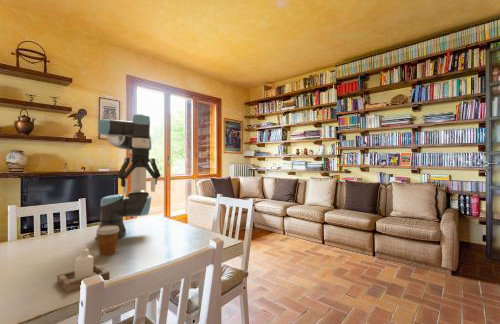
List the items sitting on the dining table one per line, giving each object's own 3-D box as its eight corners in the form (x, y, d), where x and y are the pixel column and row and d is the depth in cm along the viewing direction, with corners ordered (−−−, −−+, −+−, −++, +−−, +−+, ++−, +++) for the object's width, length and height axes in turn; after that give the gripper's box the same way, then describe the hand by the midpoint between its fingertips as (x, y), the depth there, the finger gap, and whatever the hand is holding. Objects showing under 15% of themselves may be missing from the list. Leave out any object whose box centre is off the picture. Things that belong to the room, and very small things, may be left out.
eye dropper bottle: (79, 276, 93) (80, 244, 93) (95, 276, 93) (96, 244, 93) (71, 281, 89) (72, 248, 89) (88, 281, 89) (89, 248, 89)
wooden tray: (57, 282, 89) (57, 275, 89) (97, 270, 99) (97, 264, 99) (67, 292, 82) (67, 285, 82) (109, 278, 92) (109, 272, 92)
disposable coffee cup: (94, 258, 111) (95, 231, 111) (96, 251, 120) (97, 226, 120) (118, 255, 116) (119, 229, 116) (119, 248, 124) (119, 224, 124)
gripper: (116, 145, 106) (115, 195, 106) (168, 149, 126) (167, 191, 125) (109, 146, 111) (107, 194, 111) (160, 149, 130) (159, 190, 130)
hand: (139, 192), depth 118 cm, fingers open, 13 cm apart
